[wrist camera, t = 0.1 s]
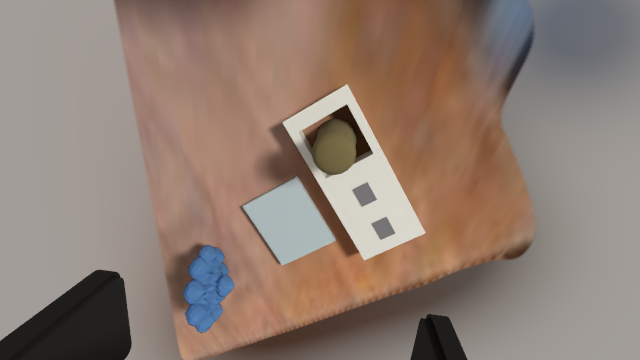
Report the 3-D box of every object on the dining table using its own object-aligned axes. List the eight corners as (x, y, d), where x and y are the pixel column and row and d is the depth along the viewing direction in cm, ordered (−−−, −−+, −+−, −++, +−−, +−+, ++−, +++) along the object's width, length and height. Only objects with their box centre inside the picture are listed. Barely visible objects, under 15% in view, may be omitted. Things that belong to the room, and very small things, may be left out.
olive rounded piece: (333, 167, 46) (329, 192, 36) (307, 136, 45) (295, 152, 35) (365, 142, 45) (371, 160, 34) (339, 109, 44) (337, 118, 33)
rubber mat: (244, 204, 49) (242, 206, 48) (297, 175, 47) (296, 177, 46) (283, 262, 52) (282, 265, 51) (335, 238, 50) (335, 241, 49)
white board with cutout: (286, 119, 45) (282, 122, 42) (347, 84, 42) (347, 84, 40) (363, 250, 50) (364, 260, 47) (420, 224, 48) (425, 233, 45)
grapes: (252, 292, 54) (227, 347, 43) (216, 293, 55) (182, 348, 44) (240, 233, 51) (209, 276, 40) (201, 235, 52) (160, 279, 40)
